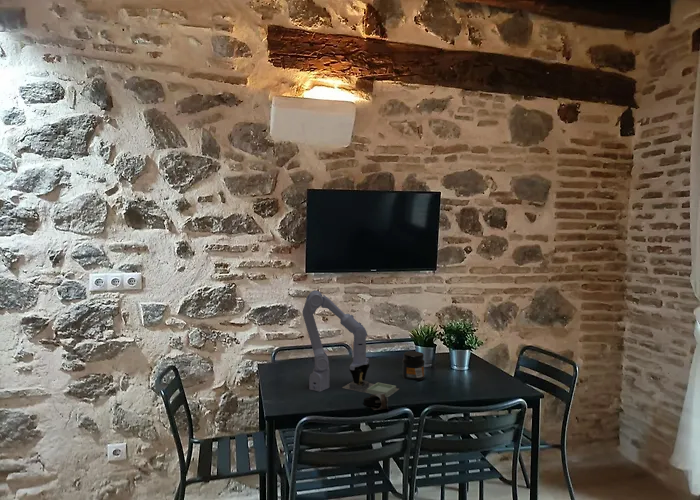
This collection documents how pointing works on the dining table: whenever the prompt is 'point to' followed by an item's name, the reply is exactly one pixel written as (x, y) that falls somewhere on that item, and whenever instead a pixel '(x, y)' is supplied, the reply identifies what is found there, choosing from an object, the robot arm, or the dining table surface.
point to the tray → (381, 388)
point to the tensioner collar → (359, 385)
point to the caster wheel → (376, 401)
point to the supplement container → (413, 365)
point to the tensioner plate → (366, 389)
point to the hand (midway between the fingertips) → (359, 381)
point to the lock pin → (360, 377)
